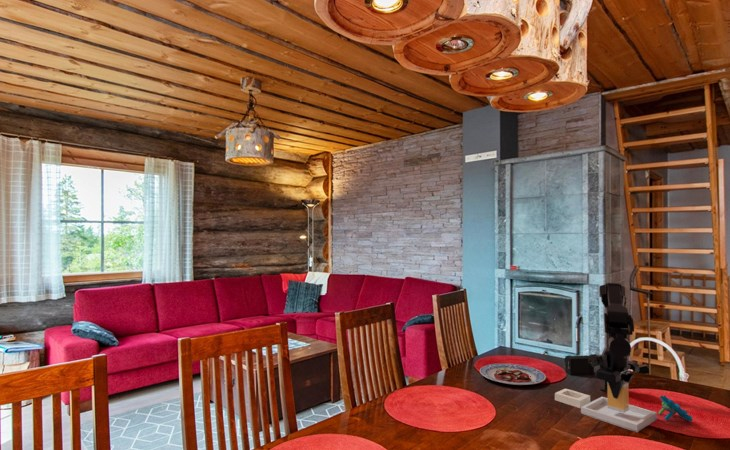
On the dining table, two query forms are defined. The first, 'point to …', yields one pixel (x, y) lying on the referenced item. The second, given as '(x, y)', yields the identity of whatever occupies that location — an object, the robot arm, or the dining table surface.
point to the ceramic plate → (512, 374)
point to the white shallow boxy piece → (572, 398)
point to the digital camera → (578, 365)
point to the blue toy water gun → (673, 409)
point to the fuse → (619, 399)
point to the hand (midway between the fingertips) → (618, 396)
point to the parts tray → (619, 415)
